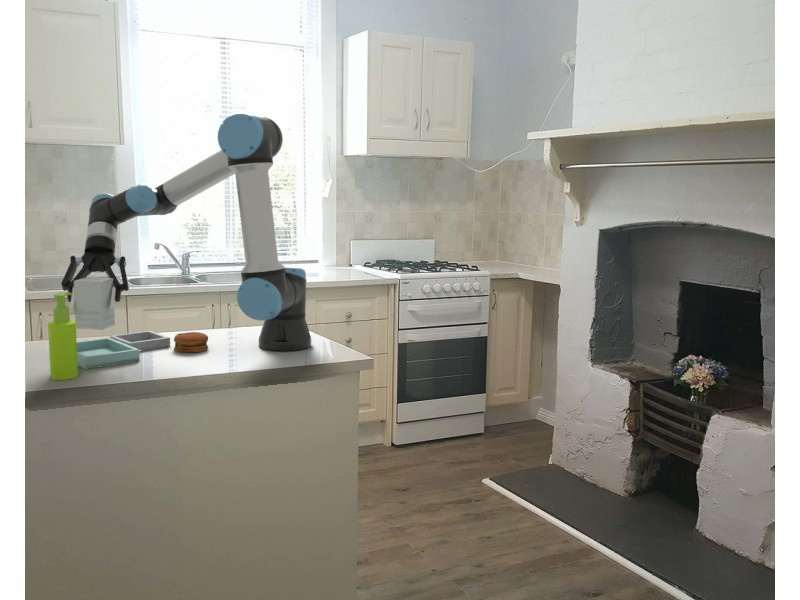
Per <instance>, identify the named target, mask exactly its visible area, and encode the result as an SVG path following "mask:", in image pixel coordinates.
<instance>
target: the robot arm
mask: <svg viewBox="0 0 800 600" xmlns="http://www.w3.org/2000/svg"><path fill="white" fill-rule="evenodd" d="M283 142H284V140H283V133H282V129H281V128H280V127H279V125H278V123H276V122H275V121H274V120H273V119H271V118H269V117H266V116H262V115H256V114H253V113H251V112H236V113H232V114H230V115H228V116H227V117H225V118H224V119H223V121H222V122H221V123H220V126H219V128H218V132H217V143H218V147H219V148H220V150H219V151H217V152H215V153H213V154H211V155H210V156H208V157H206V158H205V159H202V160H200V161H199V162H198V163H196V164H194V165H192V166H191V167H188V168H187V169H185V170H183V171H182V172H180V173H179V174H177V175H175V176H173V177H171V178H170V179H168V180H167V181H165V182H164V183H162V184H160V185H158V186H156V187H155V188H151V186H148V185H147V184H145V183H141V184H137V185H134V186H131V187H130V188H128V189H126V190H124V191H122V192H120V193H118V194H115V195H113V194H110V193H103V194H102V193H99V194H97V195H94V197H92V200H91V203H90V207H89V210H88V211H89V214H88V224H87V231H86V237H85V244H84V245H85V246H84V252H83V254H82V256H80V257H76V256H75V255H71V256H70V259H69V260H70V263H69V265H68V267H67V270H66V272H65V274H64V275H63V278H62V281H61V287H62V291H63V292H65V291H66V292H68V293H72V294H71V295H67V296H66V298H67V301H68V302H69V303H70V306H69V311H70V313H71V315H75V299H74V281H75V280H79V279H82V278H86V277H89V276H91V273H97V272H98V273H99V272H100V273H105V274H106V275H107V278H113V285H114V287H112V296H111V306H110V309H111V313H112V314H114V315H115V314H116V306H117V305H116V304H117V303H118V302H121V297H122V296H121V295H122V292H123V291H124V292H125V291H126V292H127V291H130V290H129V288H130V287H129V282H128V281H129V280H128V277H127V272H126V266H127V260H126V257H125V256H120V257H116V256H115V254H116V253H115V252H116V243H117V234H118V233H117V232H118V226H119V225H120V224H123V223H125V222H127V221H130V220H132V219H134V218H137V217H144V216H146V217H147V216H165V215H169V214H172V213H174V211H176V210H177V207H178V206H179V205H181V204H183V203H185V202H187V201H189V200H191V199H192V198H194V197H196V196H197V195H199V194H201V193H203V192H205V191H206V190H209V189H210V188H212V187H214V186H216V185H217V184H219V183H221V182H222V181H224V180H227V179H228V178H230V177H232V176H233V175H235V182H236V183H235V184H236V191H237V201H238V210H239V218H240V225H241V235H242V244H243V251H244V252H243V253H244V260H245V265H244V266H243V268H242V269H241V270H240V275H241V276H240V277H241V284H240V286H239V287H238V289H237V294H236V301H237V304H238V307H239V309H240V311H241V312H242V313H243V314H244V315H245V316H247V317H248V318H250V319H253V320H255V321H263V324H262V326H261V331H260V335H258V347H260V348H261V349H264V350H266V351H267V350H268V351H277V352H289V351H290V352H292V351H294V352H295V351H300V350H301V351H302V350H304V349H308V348H310V347H311V346H312V336H311V333H310V330H309V327H308V326H309V325H308V323H307V319H306V307H307V305H306V304H307V303H306V302H307V301H306V300H307V282H308V281H307V274H306V271H305V269H303V268H300V267H285V265H283V263H281V262H280V261H279V258H278V256H279V255H278V249H277V248H278V247H277V240H276V239H277V238H276V231H275V230H276V229H275V222H274V221H275V220H274V212H273V204H272V194H271V193H272V192H271V186H270V176H269V171H270V169H271V168H272V167H273V165H274V160H273V158H274V157H275V156H277V155H278V154H279V152H280V151H281V148H282V145H283ZM81 263H83V265H82V268H81V269H80V270H79V272H78V273H77V274H76V272H77V270H78V269H77V268H78V267H79V266H80V264H81ZM115 264H116V265H117V266H118V268H119V270H120V271H119V272H120V275H121V280H122V281H121V282H122V283H120V281H119V280H118V278H117V276H116V274H115V273H114V271H113V268H112V267H113V266H114V265H115ZM75 274H76V275H75ZM74 276H75V277H74ZM116 302H117V303H116Z"/></svg>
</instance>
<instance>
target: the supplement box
mask: <svg viewBox="0 0 800 600" xmlns="http://www.w3.org/2000/svg"><path fill="white" fill-rule="evenodd" d="M112 287H114V285H113V278H109V277H91V276H87V277H86V278H82V279H79V280H75V281H74V299H75V314H74V319H75V320H74V321H75V322H76V330H98V331H103V330H106V329H108V328H111V327H114V326H115V324H116V321H115V314H112V313H111V309H110V306H111V296H112Z"/></svg>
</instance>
